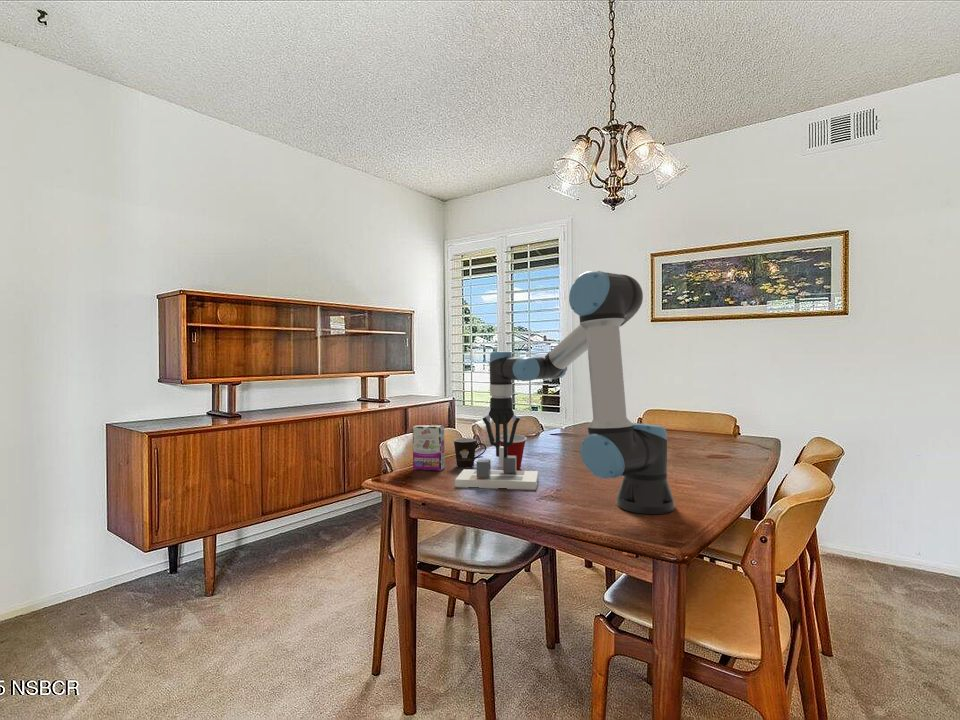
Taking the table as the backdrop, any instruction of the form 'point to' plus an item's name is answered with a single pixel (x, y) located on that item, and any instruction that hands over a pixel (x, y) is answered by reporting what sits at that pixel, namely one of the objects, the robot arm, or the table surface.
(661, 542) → the table surface
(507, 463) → the switch tab far
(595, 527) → the table surface
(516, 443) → the plastic cup
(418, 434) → the candy bar box
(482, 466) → the switch tab near
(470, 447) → the coffee mug
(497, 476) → the switch panel
